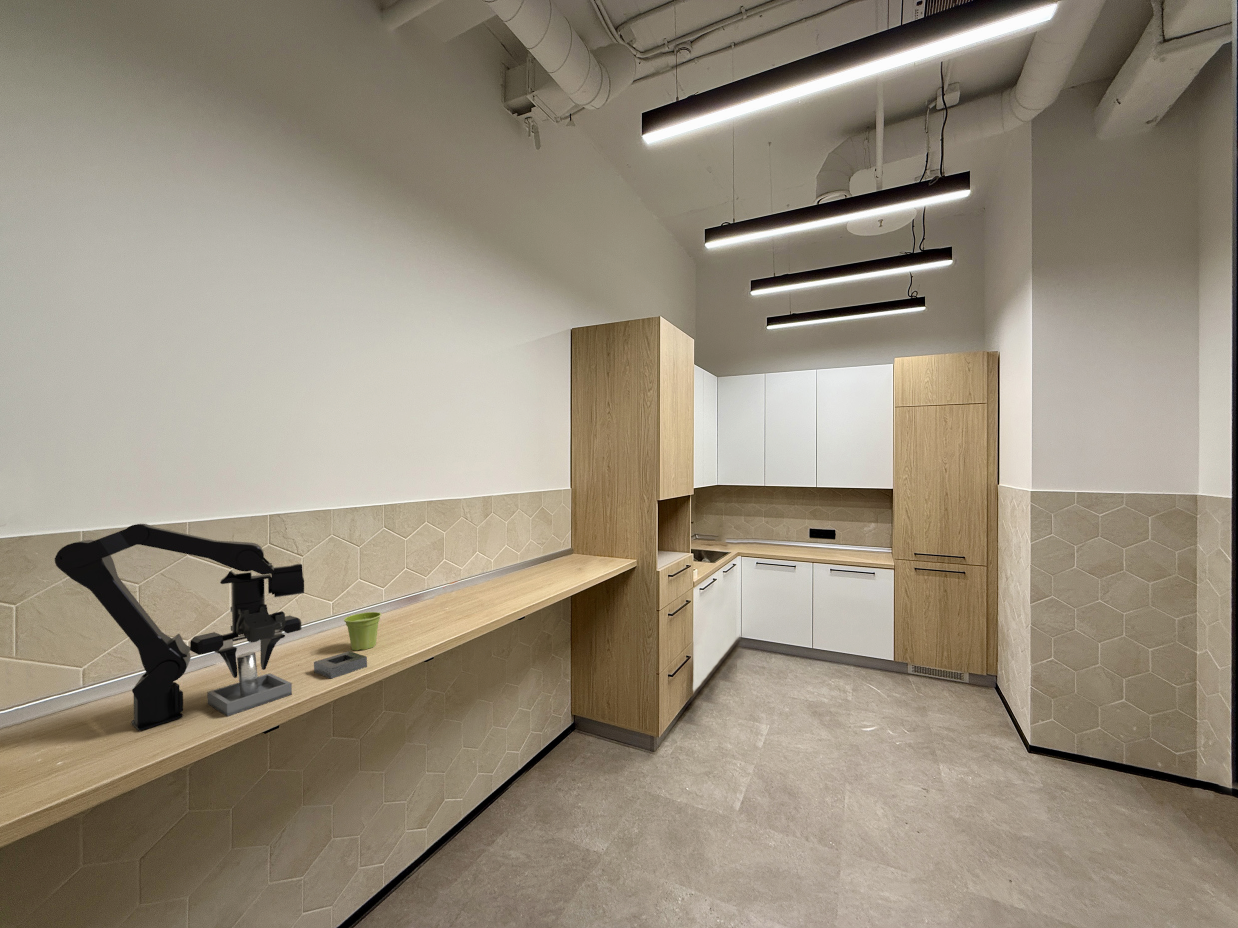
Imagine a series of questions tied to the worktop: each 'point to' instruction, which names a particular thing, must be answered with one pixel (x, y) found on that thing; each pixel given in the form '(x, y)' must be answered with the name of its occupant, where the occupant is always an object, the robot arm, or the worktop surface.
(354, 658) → the pin holder
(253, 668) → the pin
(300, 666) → the worktop surface
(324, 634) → the worktop surface
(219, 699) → the parts tray
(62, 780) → the worktop surface
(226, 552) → the robot arm
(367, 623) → the plant pot
